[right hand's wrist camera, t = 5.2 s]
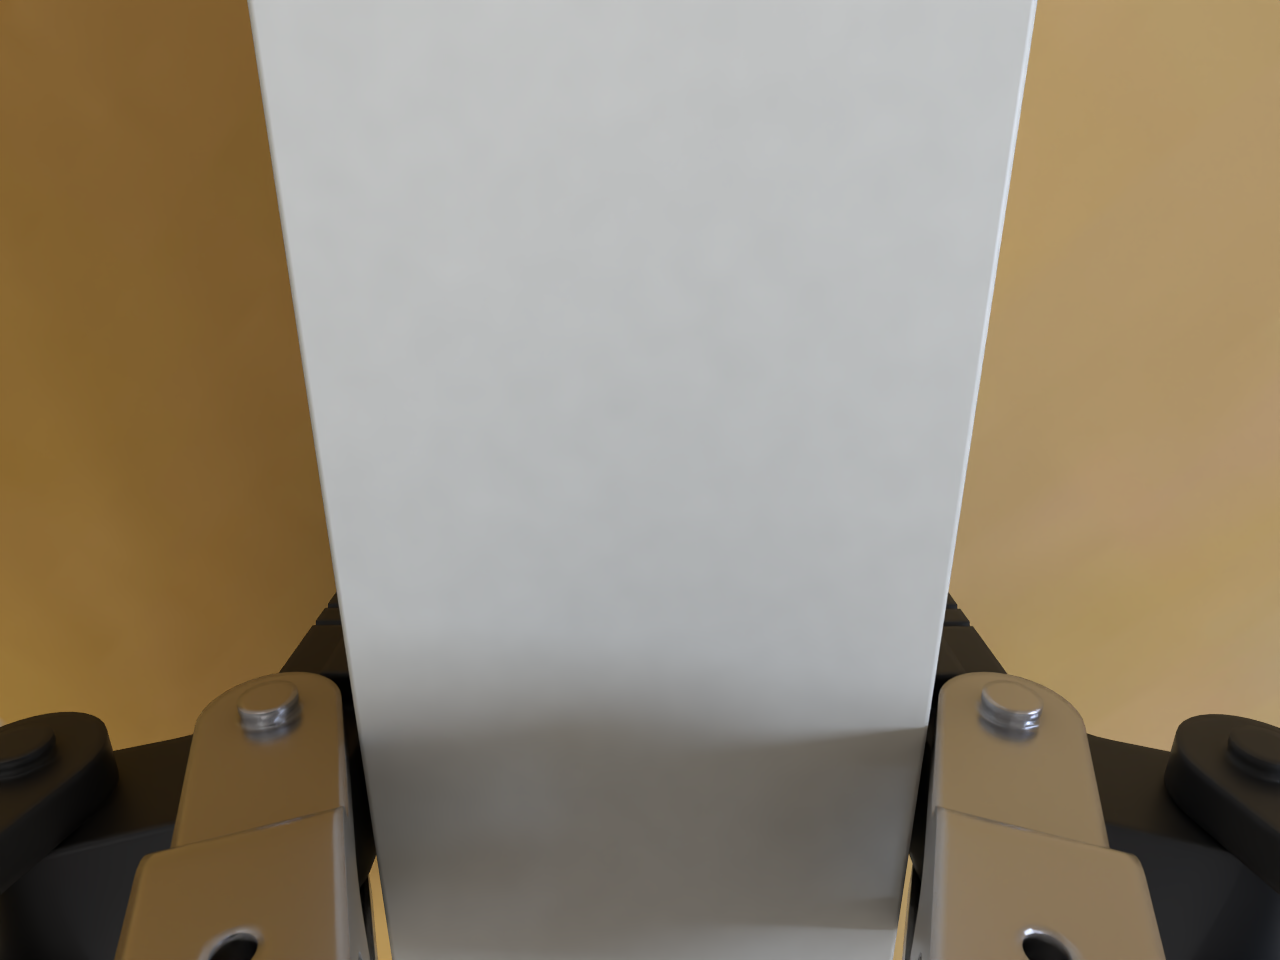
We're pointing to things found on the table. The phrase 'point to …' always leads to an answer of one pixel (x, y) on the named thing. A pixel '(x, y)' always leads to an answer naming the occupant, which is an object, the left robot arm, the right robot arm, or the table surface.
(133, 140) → the table surface
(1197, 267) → the table surface
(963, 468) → the bar
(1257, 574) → the table surface
